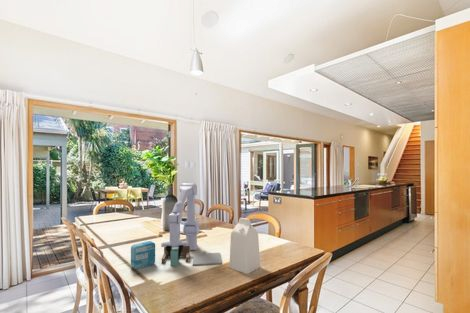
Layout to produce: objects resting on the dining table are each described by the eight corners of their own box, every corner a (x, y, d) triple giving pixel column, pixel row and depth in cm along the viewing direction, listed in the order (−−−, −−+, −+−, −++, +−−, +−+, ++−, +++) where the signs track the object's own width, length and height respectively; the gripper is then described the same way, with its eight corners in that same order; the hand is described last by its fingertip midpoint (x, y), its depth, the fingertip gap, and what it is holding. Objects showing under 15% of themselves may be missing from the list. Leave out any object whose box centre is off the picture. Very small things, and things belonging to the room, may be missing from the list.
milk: (260, 267, 133) (259, 218, 134) (246, 274, 124) (246, 222, 125) (243, 261, 141) (242, 215, 142) (229, 267, 132) (229, 218, 133)
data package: (133, 270, 130) (134, 247, 130) (130, 267, 133) (130, 245, 134) (155, 263, 138) (155, 242, 139) (151, 261, 141) (151, 240, 142)
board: (193, 255, 151) (193, 253, 151) (219, 253, 153) (219, 252, 153) (192, 265, 135) (192, 264, 135) (221, 264, 137) (221, 262, 137)
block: (171, 261, 141) (171, 247, 141) (179, 261, 142) (179, 247, 142) (170, 265, 135) (170, 251, 135) (177, 265, 136) (177, 250, 136)
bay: (164, 256, 149) (164, 246, 149) (189, 255, 151) (189, 245, 151) (161, 263, 139) (161, 252, 139) (188, 261, 141) (188, 251, 141)
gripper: (160, 237, 134) (160, 262, 133) (187, 236, 136) (187, 261, 135) (162, 233, 141) (162, 257, 140) (188, 232, 143) (188, 256, 142)
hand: (174, 259), depth 138 cm, fingers closed on block, 4 cm apart
